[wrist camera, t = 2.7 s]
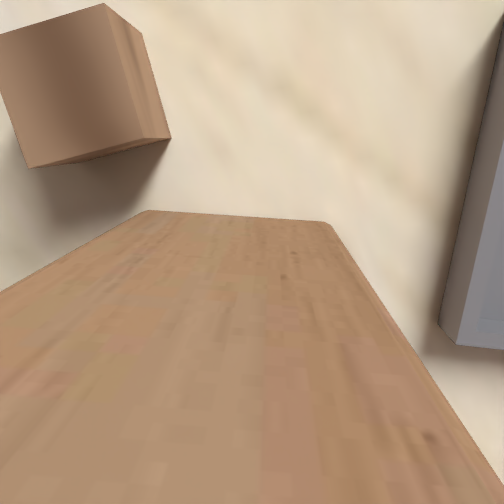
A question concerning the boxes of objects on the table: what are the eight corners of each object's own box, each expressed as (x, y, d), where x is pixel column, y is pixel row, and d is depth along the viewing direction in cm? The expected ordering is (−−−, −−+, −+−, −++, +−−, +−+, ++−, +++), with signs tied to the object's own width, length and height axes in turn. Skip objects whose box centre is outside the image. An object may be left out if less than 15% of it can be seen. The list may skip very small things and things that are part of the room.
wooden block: (314, 392, 26) (441, 1174, 6) (141, 379, 26) (-245, 1086, 7) (332, 220, 23) (636, 639, 4) (141, 208, 23) (-480, 538, 4)
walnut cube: (79, 162, 23) (28, 168, 18) (45, 61, 22) (-19, 40, 17) (171, 138, 23) (144, 137, 18) (141, 33, 21) (103, 2, 17)
